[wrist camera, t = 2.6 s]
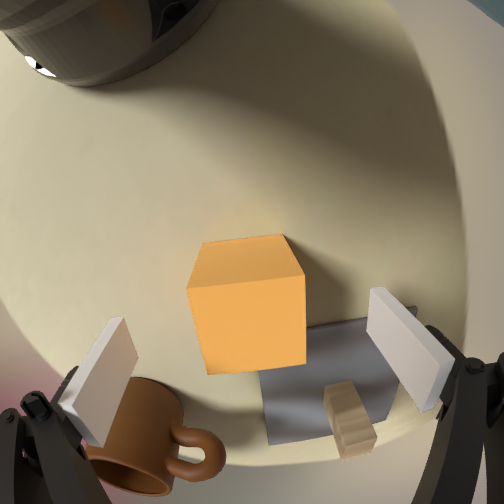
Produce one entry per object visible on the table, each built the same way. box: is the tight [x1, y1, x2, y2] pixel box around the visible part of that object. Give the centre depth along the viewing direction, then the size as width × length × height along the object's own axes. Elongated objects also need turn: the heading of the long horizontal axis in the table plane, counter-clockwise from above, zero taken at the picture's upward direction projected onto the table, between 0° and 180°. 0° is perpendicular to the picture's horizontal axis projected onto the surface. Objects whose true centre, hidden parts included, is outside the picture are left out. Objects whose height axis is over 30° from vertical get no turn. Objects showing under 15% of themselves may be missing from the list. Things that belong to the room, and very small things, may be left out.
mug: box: [85, 377, 226, 497], centre depth 19 cm, size 12×8×9 cm, turn 105°
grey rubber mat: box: [259, 306, 418, 460], centre depth 20 cm, size 16×14×7 cm
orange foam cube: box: [186, 234, 306, 375], centre depth 16 cm, size 5×5×7 cm
